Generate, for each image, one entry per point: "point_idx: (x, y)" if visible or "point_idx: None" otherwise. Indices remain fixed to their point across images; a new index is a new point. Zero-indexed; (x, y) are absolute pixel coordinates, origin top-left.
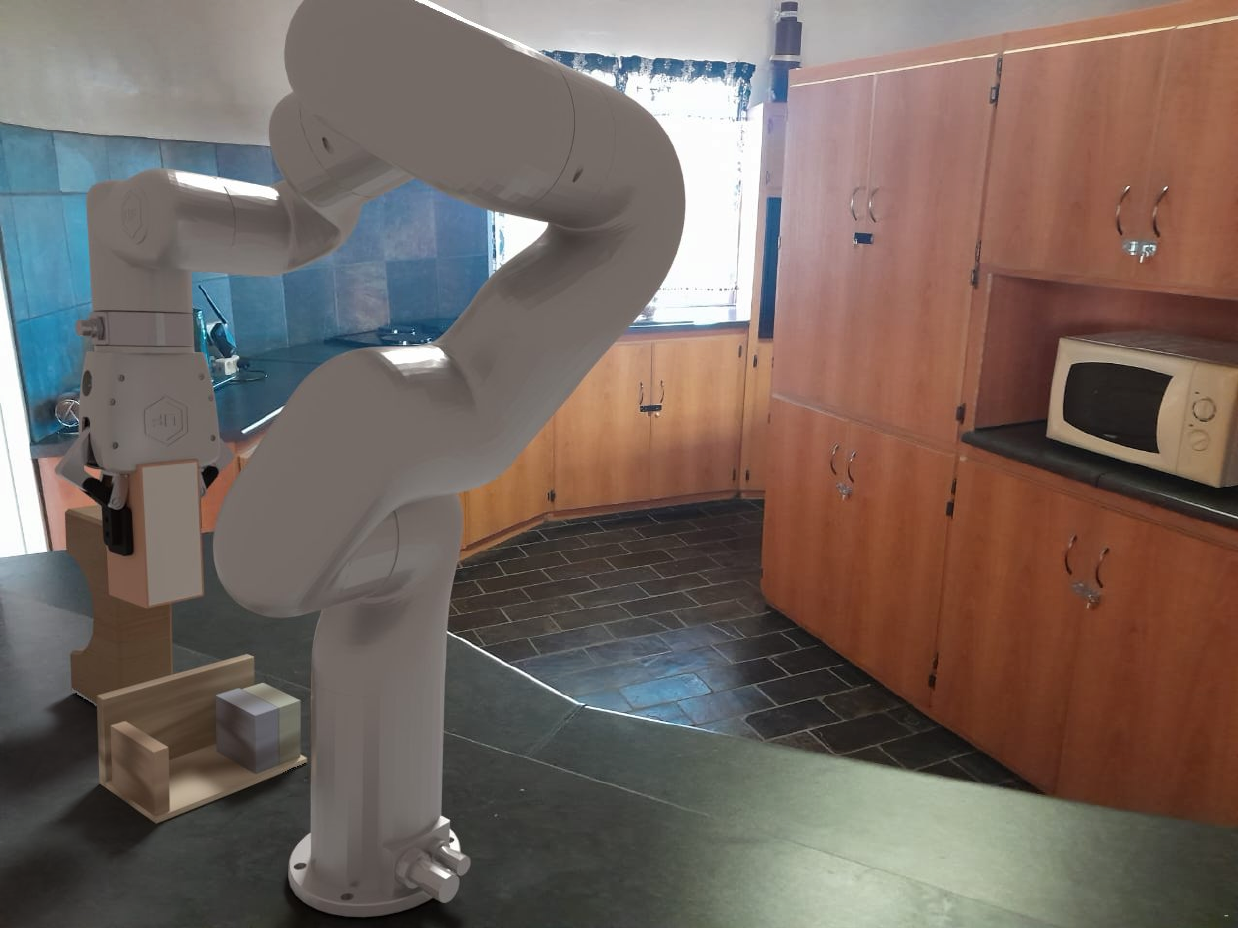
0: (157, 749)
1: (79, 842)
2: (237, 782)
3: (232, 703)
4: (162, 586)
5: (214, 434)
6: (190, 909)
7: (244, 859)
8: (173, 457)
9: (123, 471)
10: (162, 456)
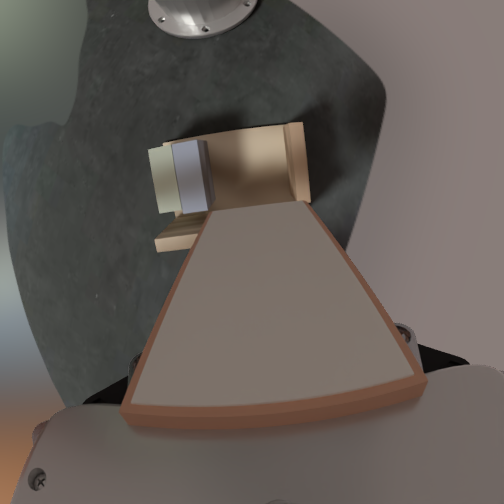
0: (297, 125)
1: (340, 137)
2: (224, 136)
3: (202, 180)
4: (282, 209)
5: (27, 488)
6: (311, 24)
7: (264, 45)
8: (239, 446)
9: (455, 366)
10: (304, 449)
